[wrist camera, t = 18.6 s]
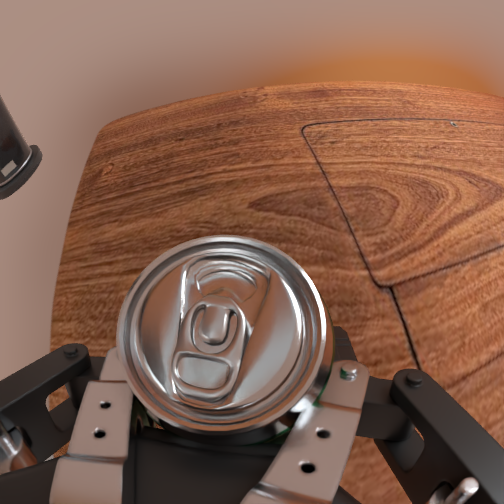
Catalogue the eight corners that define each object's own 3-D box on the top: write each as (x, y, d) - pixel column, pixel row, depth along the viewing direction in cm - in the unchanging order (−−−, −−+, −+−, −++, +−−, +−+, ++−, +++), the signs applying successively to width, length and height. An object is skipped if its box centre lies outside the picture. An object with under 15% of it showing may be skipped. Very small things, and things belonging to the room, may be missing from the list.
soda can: (303, 353, 17) (349, 233, 6) (290, 435, 14) (328, 473, 4) (219, 341, 17) (144, 212, 7) (202, 420, 15) (75, 408, 5)
